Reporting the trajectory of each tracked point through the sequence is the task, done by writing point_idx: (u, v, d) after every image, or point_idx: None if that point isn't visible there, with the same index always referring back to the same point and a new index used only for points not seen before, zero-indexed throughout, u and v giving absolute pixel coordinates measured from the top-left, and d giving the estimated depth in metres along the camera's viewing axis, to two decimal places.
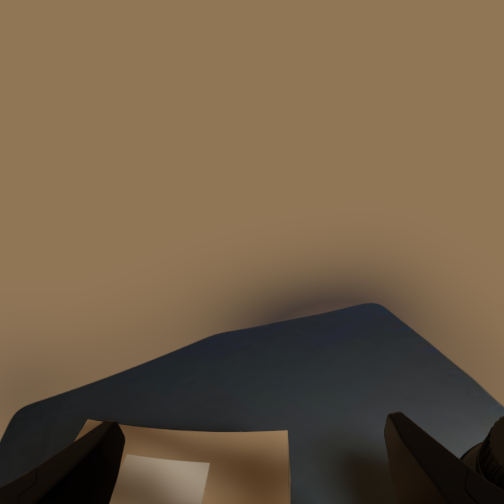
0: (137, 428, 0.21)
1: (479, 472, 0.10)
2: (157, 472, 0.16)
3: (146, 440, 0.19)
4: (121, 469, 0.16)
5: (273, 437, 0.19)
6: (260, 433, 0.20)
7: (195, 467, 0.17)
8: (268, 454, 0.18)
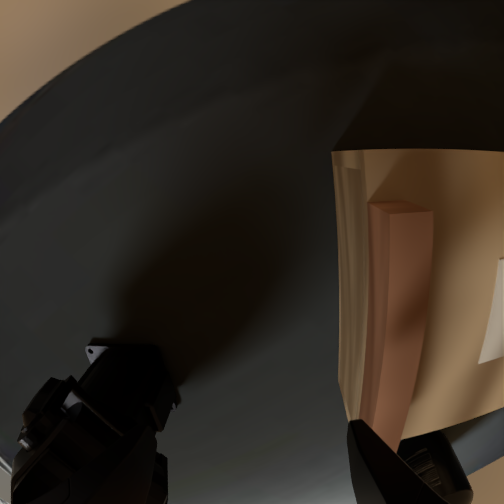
0: None
1: None
2: None
3: None
4: None
5: None
6: None
7: None
8: None
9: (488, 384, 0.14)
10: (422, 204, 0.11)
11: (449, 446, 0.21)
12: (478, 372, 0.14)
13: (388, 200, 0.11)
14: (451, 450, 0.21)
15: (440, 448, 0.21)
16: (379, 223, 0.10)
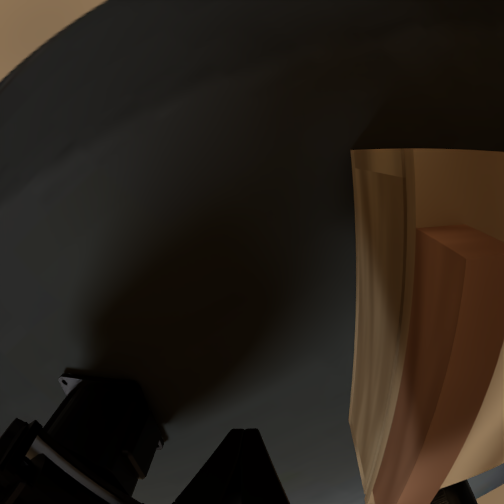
0: None
1: None
2: None
3: None
4: None
5: None
6: None
7: None
8: None
9: None
10: (486, 230, 0.07)
11: None
12: None
13: (444, 225, 0.07)
14: (466, 484, 0.17)
15: (455, 483, 0.17)
16: (440, 266, 0.06)
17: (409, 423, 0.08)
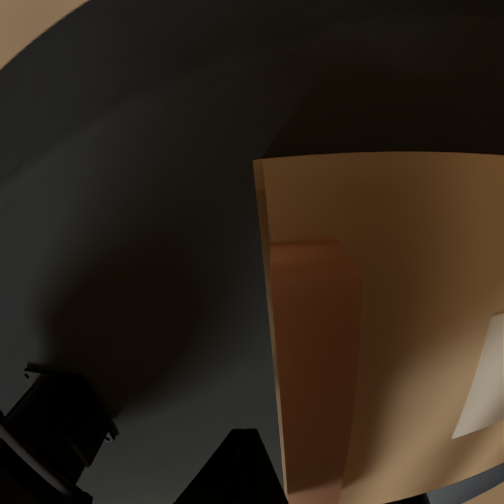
0: None
1: None
2: None
3: None
4: None
5: None
6: None
7: None
8: None
9: (465, 454, 0.10)
10: (368, 243, 0.08)
11: None
12: (452, 446, 0.10)
13: (306, 239, 0.08)
14: (423, 498, 0.17)
15: (410, 497, 0.17)
16: None
17: None
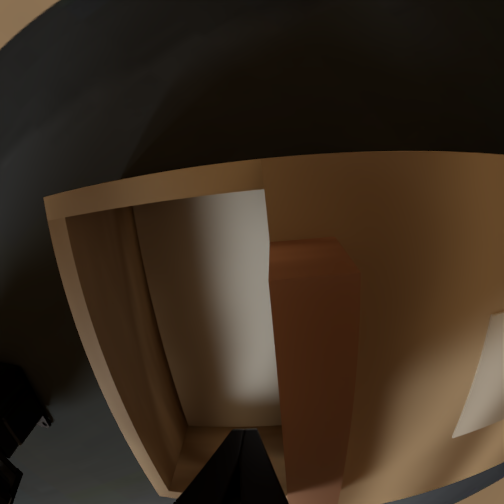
0: None
1: None
2: None
3: None
4: None
5: None
6: None
7: None
8: None
9: (465, 454, 0.10)
10: (367, 242, 0.08)
11: None
12: (452, 445, 0.10)
13: (305, 238, 0.08)
14: None
15: None
16: None
17: None
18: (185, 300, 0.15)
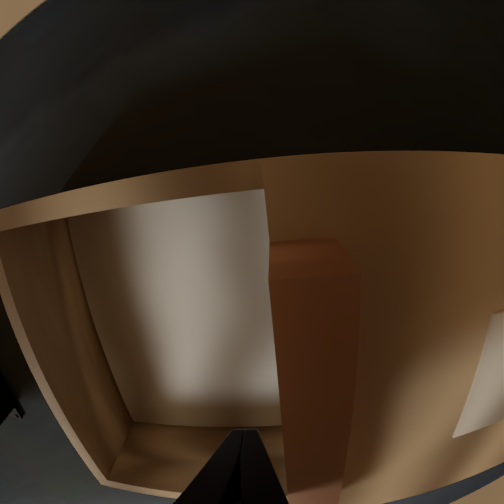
0: None
1: None
2: None
3: None
4: None
5: None
6: None
7: None
8: None
9: (466, 454, 0.10)
10: (367, 242, 0.08)
11: None
12: (452, 445, 0.10)
13: (305, 238, 0.08)
14: None
15: None
16: None
17: None
18: (114, 303, 0.15)
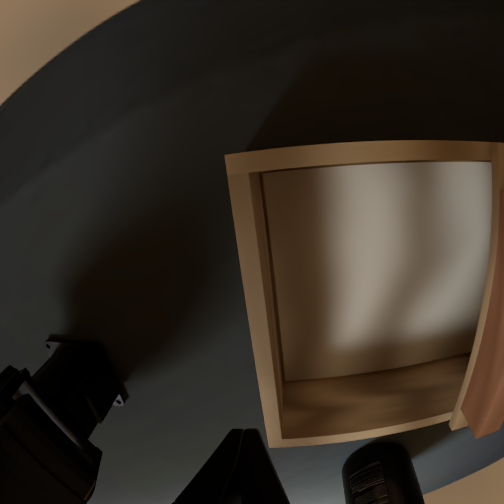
0: None
1: None
2: None
3: None
4: None
5: None
6: None
7: None
8: None
9: None
10: None
11: (406, 461, 0.21)
12: None
13: None
14: (408, 465, 0.21)
15: (394, 463, 0.21)
16: None
17: (501, 324, 0.10)
18: (303, 257, 0.18)
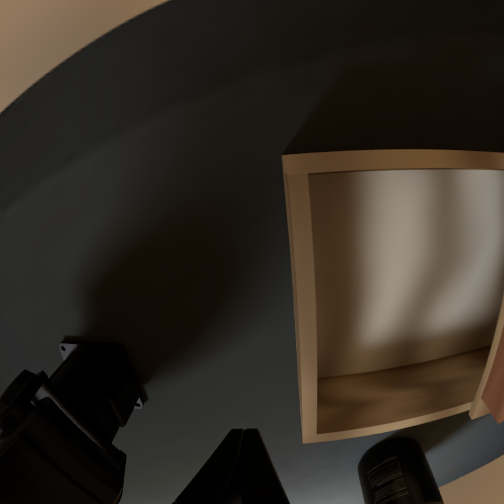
0: None
1: None
2: None
3: None
4: None
5: None
6: None
7: None
8: None
9: None
10: None
11: (421, 455, 0.22)
12: None
13: None
14: (423, 459, 0.21)
15: (410, 457, 0.21)
16: None
17: None
18: (337, 256, 0.18)
